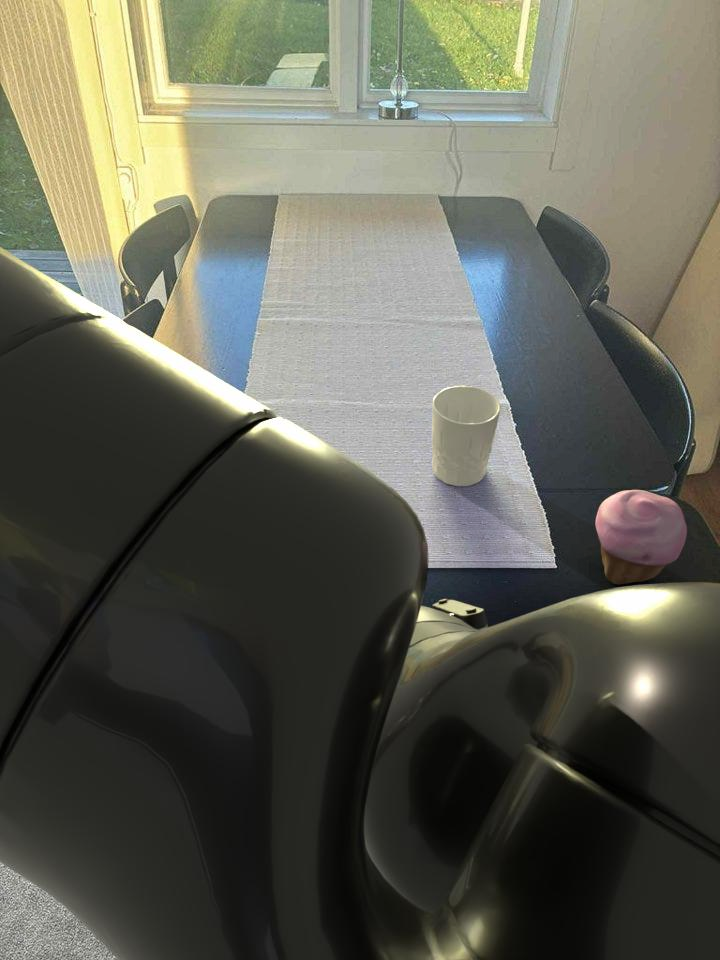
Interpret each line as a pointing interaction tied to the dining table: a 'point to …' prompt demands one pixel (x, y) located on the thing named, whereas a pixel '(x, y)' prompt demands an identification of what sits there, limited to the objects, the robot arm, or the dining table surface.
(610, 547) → the cupcake
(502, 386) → the dining table surface
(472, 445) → the white cup
